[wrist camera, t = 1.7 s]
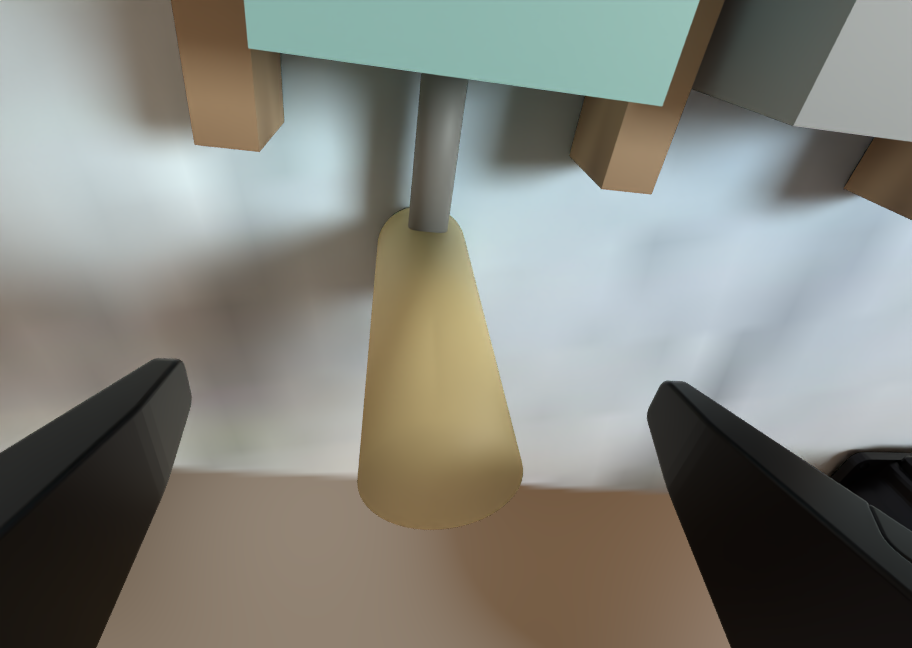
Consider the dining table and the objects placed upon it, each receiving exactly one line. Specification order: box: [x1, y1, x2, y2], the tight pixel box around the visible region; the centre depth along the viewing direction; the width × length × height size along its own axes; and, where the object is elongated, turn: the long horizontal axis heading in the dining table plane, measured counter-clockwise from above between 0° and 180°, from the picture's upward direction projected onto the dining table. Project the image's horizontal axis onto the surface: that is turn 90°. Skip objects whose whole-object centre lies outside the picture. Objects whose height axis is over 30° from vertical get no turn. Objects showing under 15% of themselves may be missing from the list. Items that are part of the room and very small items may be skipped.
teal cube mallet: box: [244, 0, 700, 530], centre depth 8 cm, size 12×6×8 cm, turn 172°
